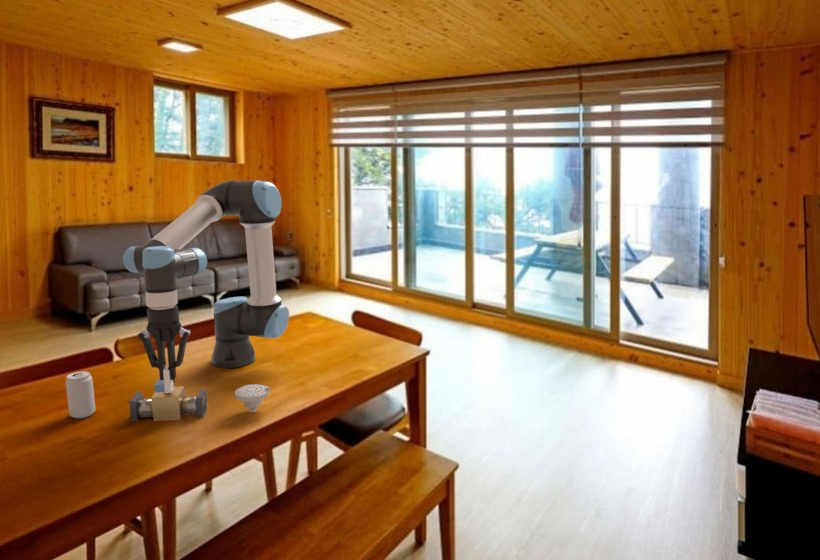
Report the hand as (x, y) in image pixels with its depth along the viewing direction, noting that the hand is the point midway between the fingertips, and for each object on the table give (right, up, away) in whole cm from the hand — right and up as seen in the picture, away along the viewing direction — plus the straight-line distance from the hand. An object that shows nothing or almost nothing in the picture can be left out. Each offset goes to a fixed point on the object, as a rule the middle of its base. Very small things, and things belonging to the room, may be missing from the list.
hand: (169, 390), depth 148 cm
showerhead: (+20, -8, +11) cm, 24 cm away
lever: (-3, +1, +3) cm, 4 cm away
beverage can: (-28, -8, +7) cm, 30 cm away
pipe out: (-10, -9, +7) cm, 15 cm away
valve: (-3, -8, +8) cm, 12 cm away
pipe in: (+3, -8, +9) cm, 13 cm away
